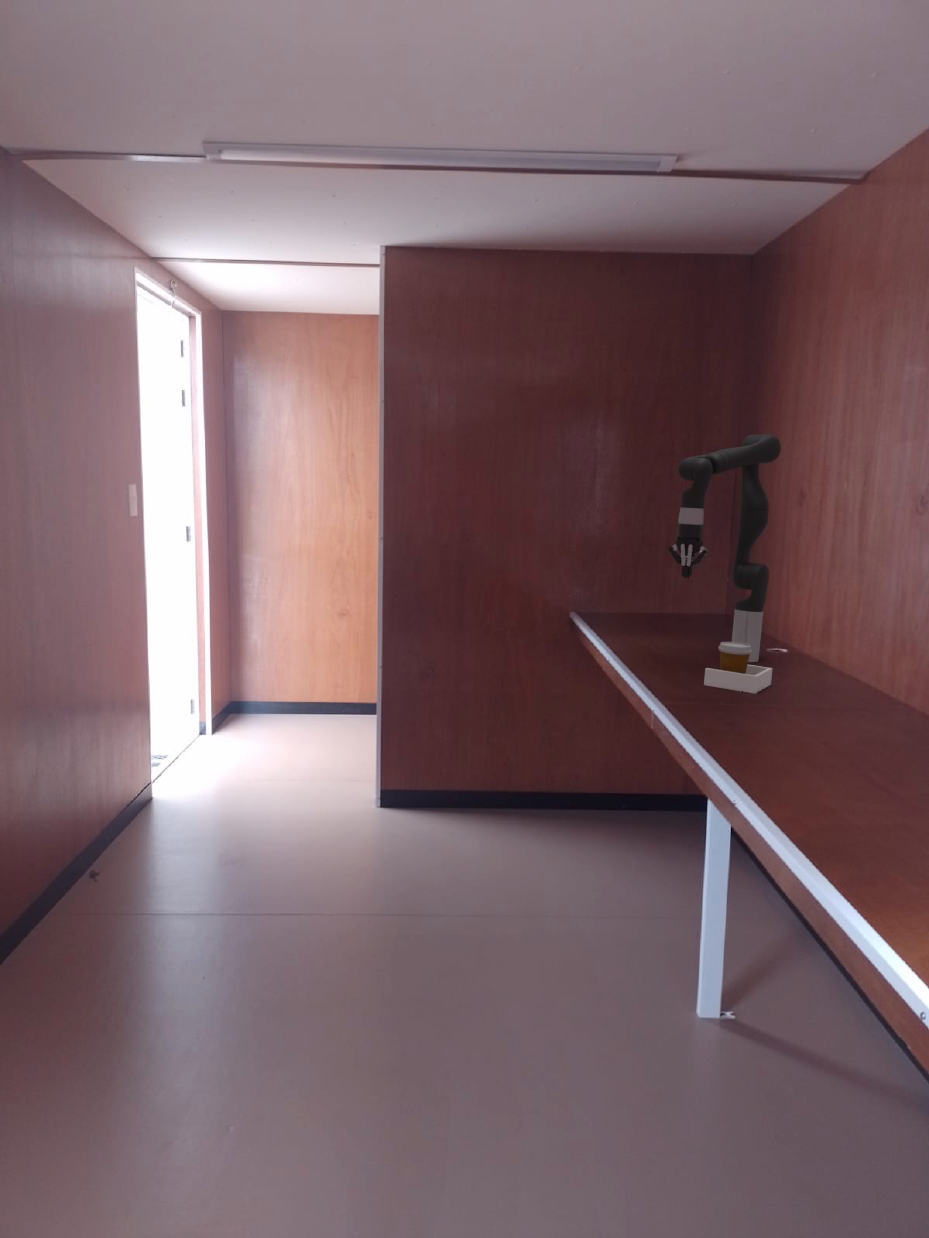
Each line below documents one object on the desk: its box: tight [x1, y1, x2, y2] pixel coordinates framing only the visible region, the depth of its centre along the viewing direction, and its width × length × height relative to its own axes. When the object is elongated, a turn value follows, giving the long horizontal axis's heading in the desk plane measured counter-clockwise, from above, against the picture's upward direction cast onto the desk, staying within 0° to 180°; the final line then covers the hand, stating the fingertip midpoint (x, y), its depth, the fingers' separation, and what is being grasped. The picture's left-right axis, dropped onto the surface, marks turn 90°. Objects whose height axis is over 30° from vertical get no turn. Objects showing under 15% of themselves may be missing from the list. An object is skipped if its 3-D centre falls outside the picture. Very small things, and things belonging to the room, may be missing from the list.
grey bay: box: [703, 663, 773, 695], centre depth 264 cm, size 16×15×5 cm
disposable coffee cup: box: [718, 641, 752, 674], centre depth 264 cm, size 10×10×12 cm
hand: (686, 577), depth 282 cm, fingers closed
